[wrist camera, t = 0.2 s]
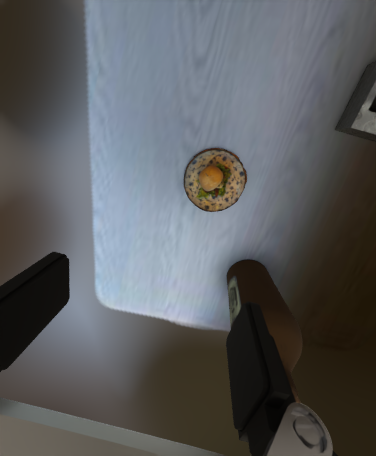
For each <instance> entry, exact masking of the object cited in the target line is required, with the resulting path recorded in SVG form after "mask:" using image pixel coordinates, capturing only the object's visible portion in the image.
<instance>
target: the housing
mask: <svg viewBox="0 0 376 456" xmlns="http://www.w3.org/2000/svg"><path fill="white" fill-rule="evenodd" d="M375 96H376V61H375V62H373V63H371V64H369V65H368V66H367V67H366V69H365V71H364V73H363V75H362V77H361V79H360V81H359V83H358V85H357V87H356V89H355V91H354V93H353V95H352V97H351V99H350V101H349V103H348V105H347V107H346V109H345V111H344V113H343V115H342V117H341V119H340V121H339V123H338V125H337V127H336V129H335V130H337V131H340V132H344V133H347V134H351V135H354V136H358V137H361V138H365V139H368V140H372V141H375V142H376V113H374V112H371V111H368V109H369V107H370V105H371V103H372V102H373V100H374V98H375Z"/></svg>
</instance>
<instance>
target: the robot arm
mask: <svg viewBox="0 0 376 456" xmlns="http://www.w3.org/2000/svg"><path fill="white" fill-rule="evenodd" d="M68 300H69V259H68V258H67V256H66V255H65V254H61V253H57V252H52V253H50V254H48V255H47V256H45V257H44V258H42V259H41V260H39V261H38V262H36V263H35V264H33V265H32V266H30V267H29V268H28V269H26V270H24V271H23V272H21V273H20V274H18V275H17V276H15V277H14V278H12V279H10V280H9V281H7V282H6V283H4V284H3V285H1V286H0V372H1V371H2V370H5V369H7V368H8V367H9V366H10V365H11V364H12V363H13V362H14V361H15V360H16V359H17V357H18V356H19V355H20V354H21V353H22V352H23V351H24V350H25V349H26V348H27V347H28V345H29V344H30V343H31V342H32V341H33V340H34V339H35V338H36V337H37V336H38V334H39V333H40V332H41V331H42V330H43V329H44V328H45V327H46V326H47V325H48V324H49V322H50V321H51V320H52V319H53V318H54V317H55V316H56V315H57V314H58V313H59V312H60V311H61V309H62V308H63V307H64V306H65V305H66V304H67V302H68ZM226 347H227V357H228V367H229V378H230V387H231V388H230V389H231V399H232V409H233V420H234V426H235V428H236V429H238V433H239V440H241V441H246V442H249V449H250V453H251V454H252V455H251V456H338V455H337V454H336V453H335V452H334V451H333V450H332V442H331V438H330V435H329V433H328V431H327V429H326V427H325V425H324V424H323V422H322V421H321V419H320V418H319V417H318V416H317V415H316V414H315V413H314V412H313V411H312V410H311V409H310V408H308V407H307V406H305V405H303V404H301V403H297V402H296V400H295V397H294V395H293V392H292V389H291V386H290V383H289V380H288V377H287V375H286V372H285V369H284V366H283V363H282V360H281V357H280V355H279V352H278V349H277V346H276V343H275V340H274V338H273V337H272V335H270V334H269V331H268V328H267V325H266V322H265V319H264V316H263V313H262V310H261V307H260V305H259V304H257V303H253V302H249V301H247V302H246V303H243V304H242V306H241V308H240V311H239V313H238V315H237V317H236V319H235V322H234V324H233V326H232V328H231V330H230V333H229V335H228V337H227V342H226ZM0 456H224V455H221V454H217V453H214V452H210V451H207V450H203V449H200V448H196V447H192V446H189V445H185V444H181V443H177V442H173V441H169V440H165V439H161V438H158V437H154V436H150V435H146V434H142V433H138V432H135V431H131V430H127V429H123V428H119V427H115V426H111V425H107V424H103V423H99V422H95V421H92V420H88V419H84V418H80V417H76V416H72V415H68V414H64V413H60V412H56V411H52V410H48V409H44V408H40V407H36V406H32V405H27V404H23V403H20V402H15V401H12V400H8V399H3V398H0Z"/></svg>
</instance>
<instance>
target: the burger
mask: <svg viewBox="0 0 376 456" xmlns="http://www.w3.org/2000/svg"><path fill="white" fill-rule="evenodd" d="M246 182H247V174H246V170H245V169H244V168H243V164H242V163H241V162H240V160H239V158H238V157H237V156H236V155H235V154H233V153H231V152H229V151H227V150H225V149H220V148H211V149H207V150H204V151H202V152H200V153H199V154H197V155H196V156H194V158H193V159H192V160H191V161H190V163H189V164H188V166H187V168H186V171H185V175H184V188H185V191H186V194H187V196H188V198H189V199H190V201H191V202H192V203H193V204H194V205H195V206H197V207H198V208H200V209H202V210H204V211H209V212H215V211H222V210H224V209H227V208H228V207H230V206H232V205H233V204H234V203H236V202H237V201H238V199H239V197H240V195H241V194H242V192H243V190H244V188H245V184H246Z"/></svg>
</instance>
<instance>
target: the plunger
mask: <svg viewBox="0 0 376 456" xmlns="http://www.w3.org/2000/svg"><path fill="white" fill-rule="evenodd" d="M369 110H370V111H371V112H374V113H375V112H376V96H375V98H374V100H373V102H372V103H371V105H370V107H369Z"/></svg>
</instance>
